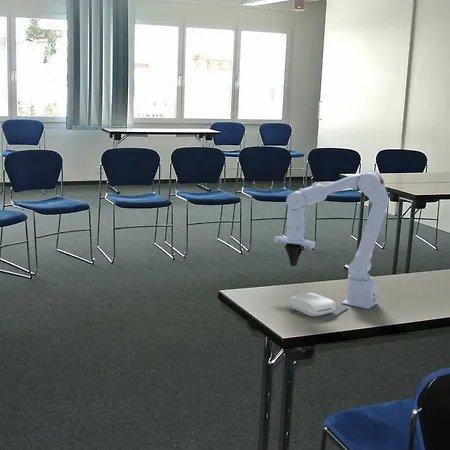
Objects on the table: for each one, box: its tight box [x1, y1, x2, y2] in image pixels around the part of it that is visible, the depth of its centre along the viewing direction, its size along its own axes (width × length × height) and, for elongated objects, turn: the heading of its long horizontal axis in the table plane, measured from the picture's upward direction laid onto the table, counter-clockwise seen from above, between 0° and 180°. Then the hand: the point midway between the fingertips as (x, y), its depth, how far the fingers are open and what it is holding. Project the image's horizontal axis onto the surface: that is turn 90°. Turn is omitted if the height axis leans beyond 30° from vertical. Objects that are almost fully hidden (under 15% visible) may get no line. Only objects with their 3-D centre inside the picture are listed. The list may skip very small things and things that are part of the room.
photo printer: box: [288, 292, 336, 317], centre depth 215 cm, size 10×4×12 cm
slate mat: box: [294, 305, 349, 322], centre depth 217 cm, size 12×14×1 cm
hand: (293, 265), depth 232 cm, fingers closed
